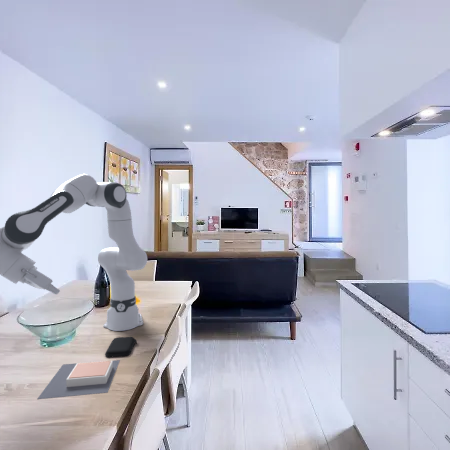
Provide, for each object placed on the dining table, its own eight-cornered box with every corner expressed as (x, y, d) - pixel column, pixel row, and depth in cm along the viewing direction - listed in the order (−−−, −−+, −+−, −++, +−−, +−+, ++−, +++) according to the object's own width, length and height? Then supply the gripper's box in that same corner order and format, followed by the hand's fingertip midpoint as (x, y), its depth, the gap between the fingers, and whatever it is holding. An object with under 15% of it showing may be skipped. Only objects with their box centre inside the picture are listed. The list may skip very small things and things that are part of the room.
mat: (63, 366, 106) (62, 364, 106) (120, 361, 110) (120, 360, 110) (37, 401, 87) (37, 399, 87) (107, 394, 90) (107, 392, 90)
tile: (76, 362, 102) (112, 360, 104) (77, 370, 103) (112, 367, 104) (66, 378, 93) (105, 375, 95) (66, 387, 93) (106, 383, 95)
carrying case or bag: (132, 358, 113) (138, 341, 127) (132, 351, 113) (138, 335, 127) (103, 360, 111) (113, 343, 126) (103, 352, 111) (113, 336, 126)
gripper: (30, 260, 91) (69, 285, 96) (26, 264, 107) (59, 285, 112) (14, 277, 88) (55, 301, 93) (13, 278, 104) (47, 299, 109)
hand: (57, 292), depth 103 cm, fingers closed
